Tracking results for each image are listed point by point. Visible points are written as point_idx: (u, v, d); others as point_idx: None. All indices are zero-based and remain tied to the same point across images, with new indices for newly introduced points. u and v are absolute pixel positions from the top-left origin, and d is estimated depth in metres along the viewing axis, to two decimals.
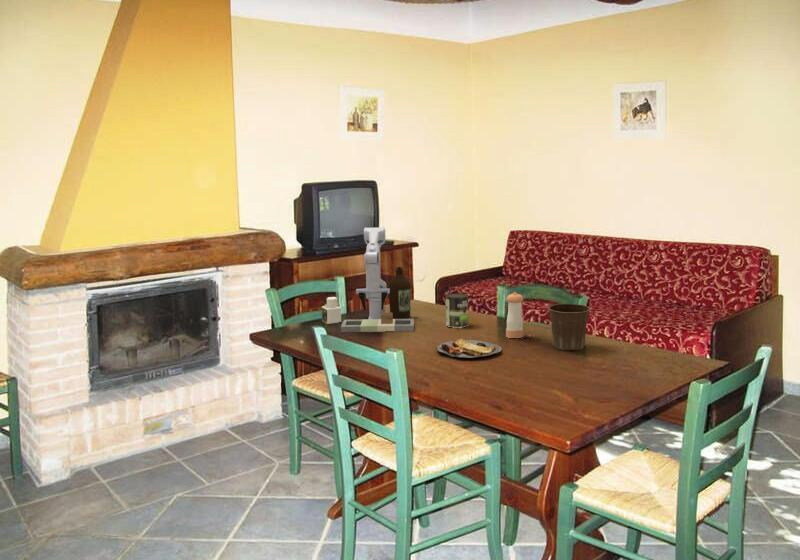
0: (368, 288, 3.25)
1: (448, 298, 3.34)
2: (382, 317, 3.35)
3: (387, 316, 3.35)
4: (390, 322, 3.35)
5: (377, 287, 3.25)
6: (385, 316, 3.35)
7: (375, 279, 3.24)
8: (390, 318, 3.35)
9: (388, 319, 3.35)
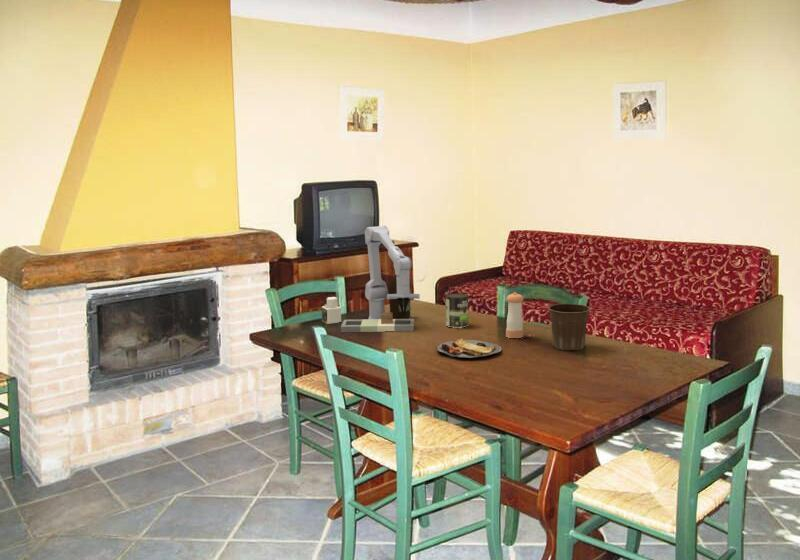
0: (399, 293, 3.33)
1: (448, 298, 3.34)
2: (382, 317, 3.35)
3: (387, 316, 3.35)
4: (390, 322, 3.35)
5: (407, 292, 3.33)
6: (385, 316, 3.35)
7: (408, 284, 3.33)
8: (390, 318, 3.35)
9: (388, 319, 3.35)
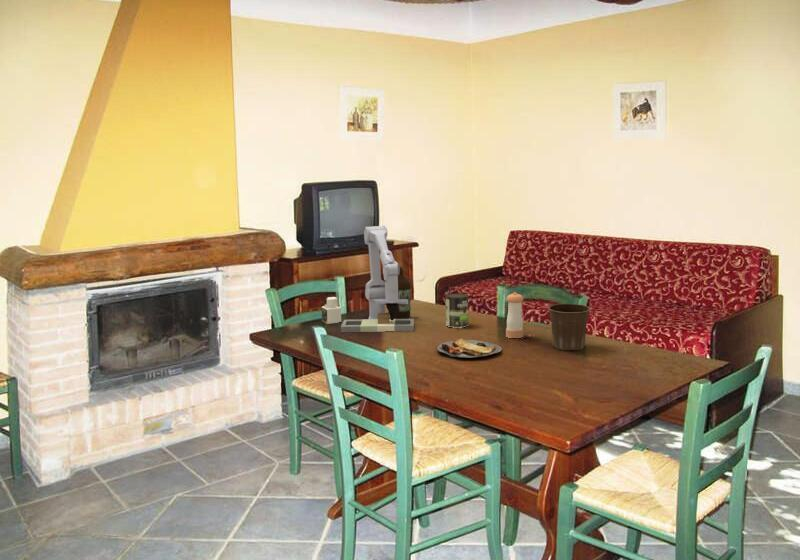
0: (387, 299, 3.34)
1: (448, 298, 3.34)
2: (379, 317, 3.35)
3: (384, 316, 3.35)
4: (387, 322, 3.35)
5: (396, 298, 3.34)
6: (382, 316, 3.35)
7: (396, 290, 3.33)
8: (387, 318, 3.35)
9: (385, 319, 3.35)
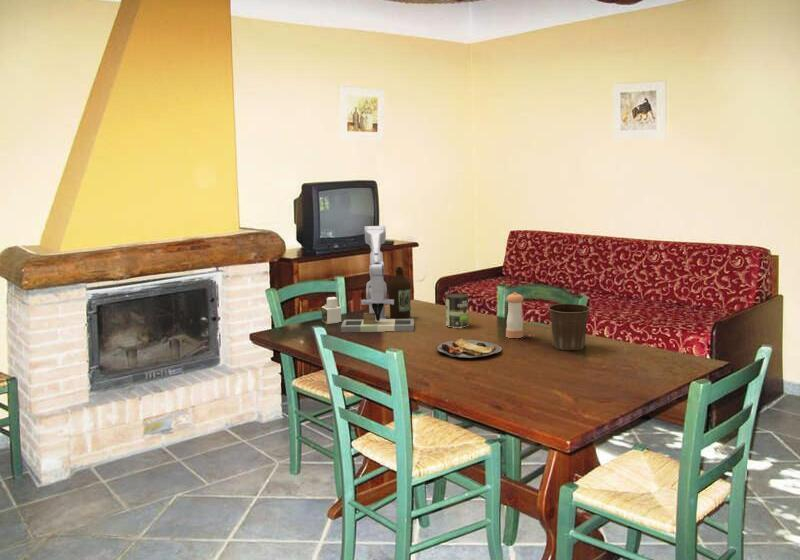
0: (373, 299, 3.34)
1: (448, 298, 3.34)
2: (364, 317, 3.35)
3: (369, 316, 3.35)
4: (372, 322, 3.35)
5: (382, 298, 3.34)
6: (367, 316, 3.35)
7: (380, 290, 3.33)
8: (372, 318, 3.35)
9: (370, 319, 3.35)
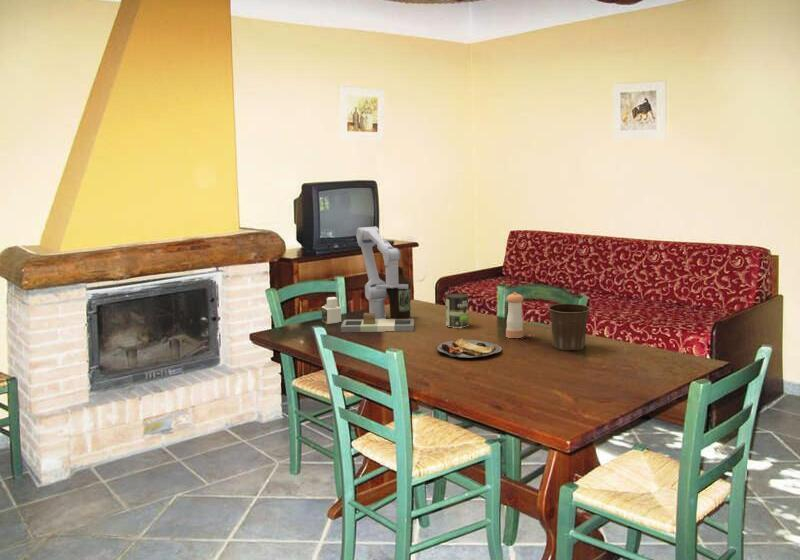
0: (388, 284, 3.39)
1: (448, 298, 3.34)
2: (364, 317, 3.35)
3: (369, 316, 3.35)
4: (372, 322, 3.35)
5: (396, 283, 3.39)
6: (367, 316, 3.35)
7: (397, 275, 3.39)
8: (372, 318, 3.35)
9: (370, 319, 3.35)
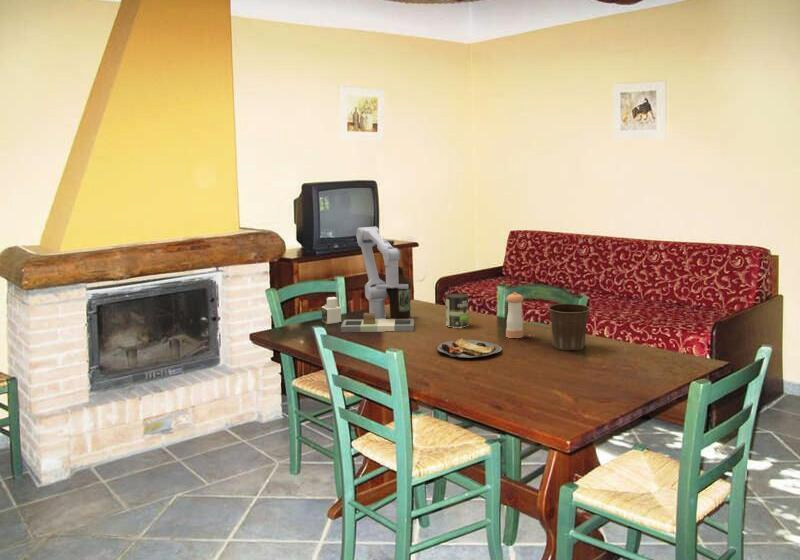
0: (388, 284, 3.39)
1: (448, 298, 3.34)
2: (364, 317, 3.35)
3: (369, 316, 3.35)
4: (372, 322, 3.35)
5: (396, 283, 3.39)
6: (367, 316, 3.35)
7: (397, 275, 3.39)
8: (372, 318, 3.35)
9: (370, 319, 3.35)
